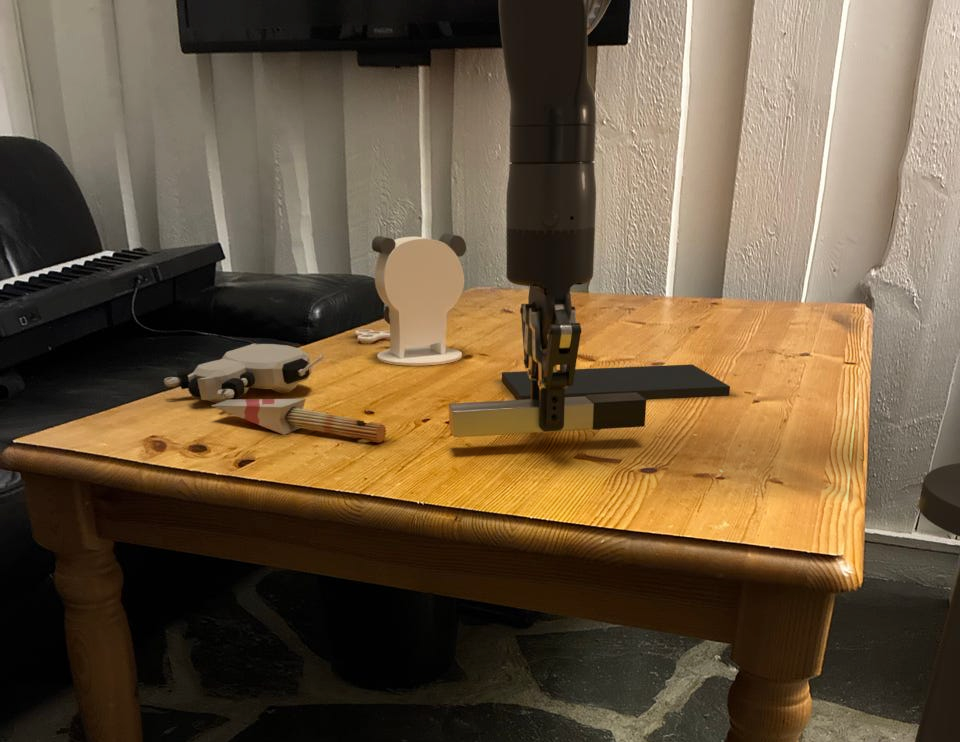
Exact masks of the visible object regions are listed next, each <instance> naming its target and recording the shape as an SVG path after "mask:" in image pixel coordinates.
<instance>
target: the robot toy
mask: <svg viewBox="0 0 960 742" xmlns="http://www.w3.org/2000/svg"><path fill="white" fill-rule="evenodd" d="M324 359H325V355H323V354H321V355H319V356H318V357H317V358H316V359H315V360H314V361H312V362H311V359H310V356H309V354H308V353H307V352H305V351H304V350H303V349H301V348H298V347H295V346H291V345H286V344H285V345H284V344H276V343H251V344H248V345H245V346H242V347H238V348H235V349H232V350H229V351H225V353H224V355H223V356H222V358H221V359H216V360H211V361H207V362H204V363H200V364H197V366H196V368H195V369H194V368H189V369H185V370H178V371H177V372H176V373H177V377H176V376H169V377H165V378H164V380H163V383H164V385H165V386H166V387H168V388H173V387H174V388H176V387H177V386H180V389H181V390H187V389H188V392H189V394H190V395H191V397H192V398H193V399H194V398H195V399H201V401H209V402H211V403H214V404H217V403H220V402H223V401H226V400H237V399H240V398H241V397H242V396H243V395H245V394H246V393H248V390H249V389H250V388H253V389H265V390H273V391H275V392H278V393H283V394H285V393H290V392H292V391H293V390H294V389H295V388H296V387H297V386H298V385H299V383H302V382H305V381H307V380H308V379H309V378H310V376H311V374H312V367H313V366H315V365H316V364H318V363H319V362H321V361H324Z"/></svg>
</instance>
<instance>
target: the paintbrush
mask: <svg viewBox="0 0 960 742" xmlns="http://www.w3.org/2000/svg"><path fill="white" fill-rule="evenodd" d="M306 400H307V399H306V398H252V399H251V398H250V399H249V398H247V399H245V398H244V399H243V398H242V399H240V398H238V399H235V400H226V401H223V402H220V403H214V404H211V405H210V407H213V408H216V409H218V410H220V411H223V412H226V413H228V414H230V415H233V416H236V417H238V418H241V419H243V420H246V421H248V422H251V423H253V424H256V425H259V426H261V427H263V428H266V429H268V430H271V431H273V432H275V433H279V434H281V435H283V436H285V435H287V434H289V433H292V432H294V431H297V430H299V429H306V430H311V431H317V432H322V433H327V434H332V435H338V436H342V437H348V438H352V439H358V438H361V439H363V440H365V441H368V442H372V443H377V444H379V443H382V442H383V441H385V439H386V435H387V430H386V429H387V428H386V425H385V424H383V423H378V422H373V421H370V422H365V421H364V420H361V419H357V418H351V417H345V416H341V415H336V414H331V413H326V412H320V411H314V410H310V409H305V408H304V406H305V403H306Z"/></svg>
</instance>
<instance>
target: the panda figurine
mask: <svg viewBox="0 0 960 742" xmlns="http://www.w3.org/2000/svg"><path fill="white" fill-rule="evenodd" d="M371 249H372V251H373V252H375V253H379V254H378V257H377V260H376V265H375V270H374V284H375V289H376V292H377V294H378V296H379V298H380V300H381V301H382V302H383V304H385V305H386V306H385V307H384V310H383V314H382V315H383V319H384V321H385V322H386V323H387V324H389V331H390V338H389V348H387V349H384V350H381V351H380V352H378V353H377V357H376V358H377V360H378V361H380V362H382V363H384V364H385V363H386V364H390V365H397V366H412V367H415V366H417V367H418V366H420V367H422V366H423V367H424V366H435V365H436V366H438V365H444V364H449V363H453V362H457V361H459V360H461V359H462V357H463V353H462V352H461V350H458V349H456V348H452V347H451V348H450V347H446V343H447V327H448V326H447V325H448V313H449V311H451V310H452V308H454V307H455V305H456V304H457V303H458V301H459V299H460V298H461V296H462V293H463V290H464V289H465V288H464V287H465V273H464V269H463V265H462V264H461V261H460V259H459V258H460V257H463V256H464V255H465V254H466V251H467V244H466V242H465V239H464V238H463V237H462V236H460V235H457V234H451V233H443V234H442V235H441V236H440V237H439V240H438V239H432V238H428V237H424V236H405V237H400V238H396V239H393V238H391V237H387V236H382V235H377V236H374V237H373V239H372V242H371Z"/></svg>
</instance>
